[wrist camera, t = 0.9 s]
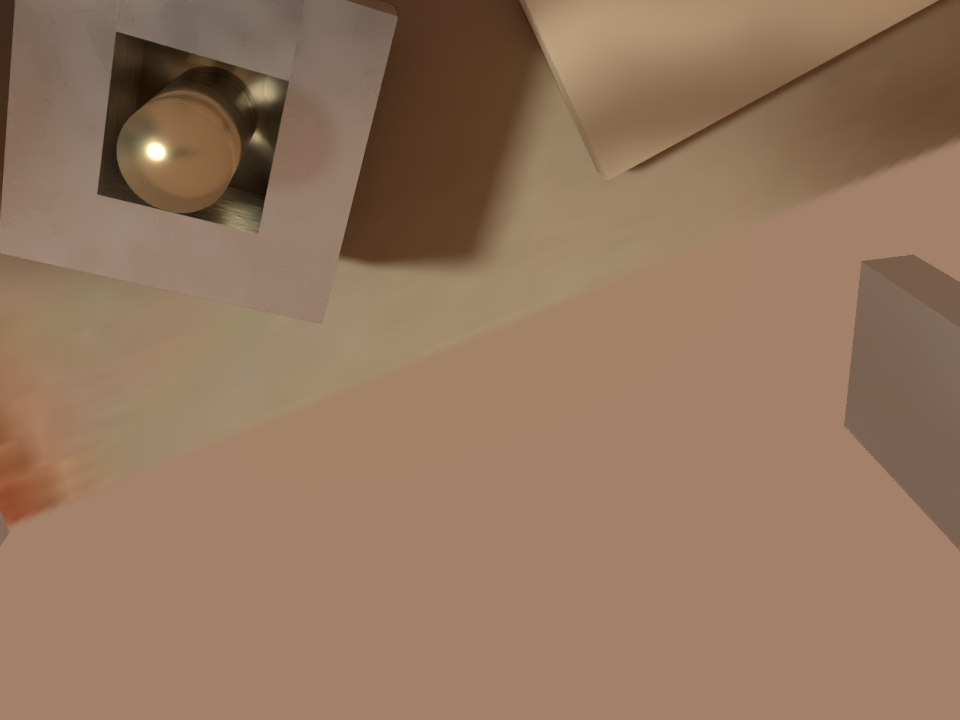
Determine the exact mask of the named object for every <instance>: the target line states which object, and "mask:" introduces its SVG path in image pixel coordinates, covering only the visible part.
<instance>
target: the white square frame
mask: <svg viewBox="0 0 960 720" xmlns="http://www.w3.org/2000/svg"><path fill="white" fill-rule="evenodd" d="M397 20H398V15H397V13H396V10H395V8H394V6H393V5H391V4H388V3H385V2H382V1H379V0H15V10H14V24H13V39H12V54H11V68H10V83H9V98H8V113H7V127H6V142H5V157H4V172H3V186H2V201H1V216H0V253H1V254H5V255H10V256H14V257H19V258H24V259H28V260H33V261H37V262H42V263H46V264H51V265H55V266H60V267H64V268H69V269H73V270H78V271H83V272H87V273H92V274H96V275H101V276H105V277H110V278H114V279H119V280H123V281H128V282H132V283H137V284H142V285H146V286H151V287H155V288H160V289H164V290H169V291H173V292H178V293H182V294H187V295H192V296H196V297H201V298H205V299H210V300H214V301H219V302H223V303H228V304H232V305H237V306H241V307H246V308H251V309H255V310H260V311H264V312H269V313H273V314H278V315H282V316H287V317H291V318H296V319H300V320H305V321H310V322H314V323H319V324H322V323H323V319H324V315H325V310H326V306H327V302H328V298H329V294H330V290H331V286H332V282H333V278H334V274H335V270H336V266H337V262H338V258H339V254H340V250H341V246H342V242H343V238H344V234H345V230H346V226H347V222H348V218H349V213H350V209H351V205H352V201H353V197H354V193H355V189H356V185H357V181H358V177H359V173H360V169H361V165H362V161H363V157H364V153H365V149H366V145H367V141H368V137H369V133H370V129H371V125H372V121H373V117H374V112H375V108H376V104H377V100H378V96H379V92H380V88H381V84H382V80H383V76H384V72H385V68H386V64H387V60H388V56H389V52H390V48H391V44H392V40H393V36H394V32H395V28H396V24H397ZM145 40H148V41H151V42H155V43H158V44H162V45H165V46H169V47H172V48H176V49H179V50H183V51H186V52H189V53H193V54H196V55H200V56H203V57H207V58H210V59H214V60H217V61H221V62H224V63H228V64H231V65H235V66H238V67H241V68H245V69H248V70H252V71H255V72H259V73H262V74H266V75H269V76H273V77H276V78H280V79H283V80H287V81H289V84H288V89H287V94H286V99H285V104H284V109H283V113H282V118H281V123H280V128H279V133H278V138H277V143H276V148H275V153H274V158H273V163H272V168H271V173H270V178H269V183H268V188H267V192H266V196H263V195H259V194H255V193H251V192H247V191H244V190H240V189H236V188H232V187H227V188H226V190H225V192H224V193H223V194H222V196H221V197H220V198H219V199H218V200H217V201H216V202H214V203H213V204H212V205H210V206H208V207H206V208H204V209H202V210H199V211H195V212H190V213H174V212H168V211H165V210H161V209H159V208H156V207H154V206H152V205H150V204H149V203H147V202H145V201H144V200H143V199H141V198H140V197H139V196H138V195H137V194H136V193H135V192H134V191H133V190H132V189H131V188H130V187H129V185H128V184H127V182H126V181H125V179H124V177H123V175H122V173H121V171H120V168H119V164H118V160H117V142H118V137H119V134H120V131H121V129H122V127H123V126H124V124H125V123H126V121H127V120H128V119H129V118H130V117H131V116H132V115H133V114H134V113H135V112H136V105H137V97H138V90H139V82H140V74H141V67H142V59H143V51H144V44H145Z"/></svg>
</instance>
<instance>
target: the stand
mask: <svg viewBox="0 0 960 720" xmlns="http://www.w3.org/2000/svg"><path fill="white" fill-rule="evenodd" d="M288 84H289V81H287V80H283V79H280V78H276V77H273V76H269V75H266V74H262V73H259V72H255V71H252V70H248V69H245V68H241V67H238V66H235V65H231V64H228V63H224V62H221V61H217V60H214V59H210V58H207V57H203V56H200V55H196V54H193V53H189V52H186V51H183V50H179V49H176V48H172V47H169V46H165V45H162V44H158V43H155V42H151V41H148V40H145V44H144V51H143V59H142V67H141V74H140V82H139V90H138V97H137V105H136V112H135V113H134V114H133V115H132V116H131V117H130V118H129V119H128V120H127V121H126V123H125V124H124V126H123V127H122V129H121V131H120V134H119V137H118V142H117V160H118V164H119V168H120V171H121V173H122V175H123V177H124V179H125V181H126V182H127V184H128V185H129V187H130V188H131V189H132V190H133V191H134V192H135V193H136V194H137V195H138V196H139V197H140V198H141V199H143V200H144V201H145V202H147V203H149V204H150V205H152V206H154V207H156V208H159V209H161V210H165V211H168V212H174V213H190V212H195V211H199V210H202V209H204V208H206V207H208V206H210V205H212V204H213V203H214V202H216V201H217V200H218V199H219V198H220V197H221V196H222V194H223V193H224V192H225V190H226V188H227V187H232V188H236V189H240V190H244V191H247V192H251V193H255V194H259V195H263V196H266V192H267V188H268V183H269V178H270V173H271V168H272V163H273V158H274V153H275V148H276V143H277V138H278V133H279V128H280V123H281V118H282V113H283V109H284V104H285V99H286V94H287V89H288Z"/></svg>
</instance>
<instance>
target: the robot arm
mask: <svg viewBox="0 0 960 720" xmlns="http://www.w3.org/2000/svg"><path fill="white" fill-rule="evenodd" d="M844 426H845V427H846V428H847V429H848V430H849V431H850V433H851V434H852V435H853V436H854V437H855V438H856V439H857V440H858V441H859V442H860V443H861V444H862V445H863V447H864V448H865V449H866V450H867V451H868V452H869V453H870V454H871V455H872V456H873V457H874V458H875V460H876V461H877V462H878V463H879V464H880V465H881V466H882V467H883V468H884V469H885V470H886V471H887V472H888V474H889V475H890V476H891V477H892V478H893V479H894V480H895V481H896V482H897V483H898V484H899V485H900V486H901V488H902V489H903V490H904V491H905V492H906V493H907V494H908V495H909V496H910V497H911V498H912V500H914V502H915V503H916V504H917V505H918V506H919V507H920V508H921V509H922V510H923V511H924V512H925V513H926V514H927V516H928V517H929V518H930V519H931V520H932V521H933V522H934V523H935V524H936V525H937V527H938V528H939V529H940V530H941V531H942V532H943V533H944V534H945V535H946V536H947V537H948V538H949V539H950V540H951V542H952V543H953V544H954V545H955V546H956V547H957V548H958V549H959V550H960V282H959V281H957V280H955V279H954V278H952V277H950V276H949V275H947V274H945V273H943V272H942V271H940V270H938V269H937V268H935V267H933V266H932V265H930V264H928V263H926V262H925V261H923V260H922V259H920V258H918V257H916V256H915V255H908V256H899V257H892V258H884V259H875V260H867V261H862V262H861V271H860V281H859V290H858V300H857V309H856V318H855V328H854V337H853V347H852V356H851V367H850V375H849V385H848V394H847V404H846V414H845V423H844ZM8 534H9V530H8V527H7V525H6V523H5V520H4V518H3V516H2V513H1V511H0V545H1V544H2V543H3V541H4V540H5V538H6V537H7V535H8Z"/></svg>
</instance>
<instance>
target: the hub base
mask: <svg viewBox="0 0 960 720" xmlns="http://www.w3.org/2000/svg"><path fill="white" fill-rule="evenodd" d="M936 1H938V0H519V2H520V4H521V6H522V8H523V10H524V12H525V15H526V17H527V19H528V21H529V23H530V26H531V28H532V30H533V32H534V34H535V36H536V39H537V41H538V43H539V45H540V47H541V49H542V52H543V54H544V56H545V58H546V60H547V62H548V65H549V67H550V69H551V71H552V73H553V75H554V78H555V80H556V82H557V84H558V86H559V88H560V91H561V93H562V95H563V97H564V99H565V101H566V104H567V106H568V108H569V110H570V112H571V114H572V117H573V119H574V121H575V123H576V125H577V127H578V130H579V132H580V134H581V136H582V138H583V140H584V143H585V145H586V147H587V149H588V151H589V153H590V156H591V158H592V160H593V162H594V164H595V166H596V169H597V171H598V172H599V173H600V174H601V175H602V176H603V177H604V178H605V179H606V180H607V181H609V180H610V179H612V178H614V177H616V176H618V175H620V174H621V173H623V172H625V171H627V170H629V169H631V168H632V167H634V166H636V165H638V164H640V163H642V162H643V161H645V160H647V159H649V158H651V157H653V156H654V155H656V154H658V153H660V152H662V151H664V150H665V149H667V148H669V147H671V146H673V145H675V144H676V143H678V142H680V141H682V140H684V139H686V138H687V137H689V136H691V135H693V134H695V133H697V132H698V131H700V130H702V129H704V128H706V127H707V126H709V125H711V124H713V123H715V122H717V121H718V120H720V119H722V118H724V117H726V116H728V115H729V114H731V113H733V112H735V111H737V110H739V109H740V108H742V107H744V106H746V105H748V104H750V103H751V102H753V101H755V100H757V99H759V98H761V97H762V96H764V95H766V94H768V93H770V92H772V91H773V90H775V89H777V88H779V87H781V86H783V85H784V84H786V83H788V82H790V81H792V80H794V79H795V78H797V77H799V76H801V75H803V74H805V73H806V72H808V71H810V70H812V69H814V68H816V67H817V66H819V65H821V64H823V63H825V62H827V61H828V60H830V59H832V58H834V57H836V56H838V55H839V54H841V53H843V52H845V51H847V50H849V49H850V48H852V47H854V46H856V45H858V44H859V43H861V42H863V41H865V40H867V39H869V38H870V37H872V36H874V35H876V34H878V33H880V32H881V31H883V30H885V29H887V28H889V27H891V26H892V25H894V24H896V23H898V22H900V21H902V20H903V19H905V18H907V17H909V16H911V15H913V14H914V13H916V12H918V11H920V10H922V9H924V8H925V7H927V6H929V5H931V4H933V3H935V2H936Z"/></svg>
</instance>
